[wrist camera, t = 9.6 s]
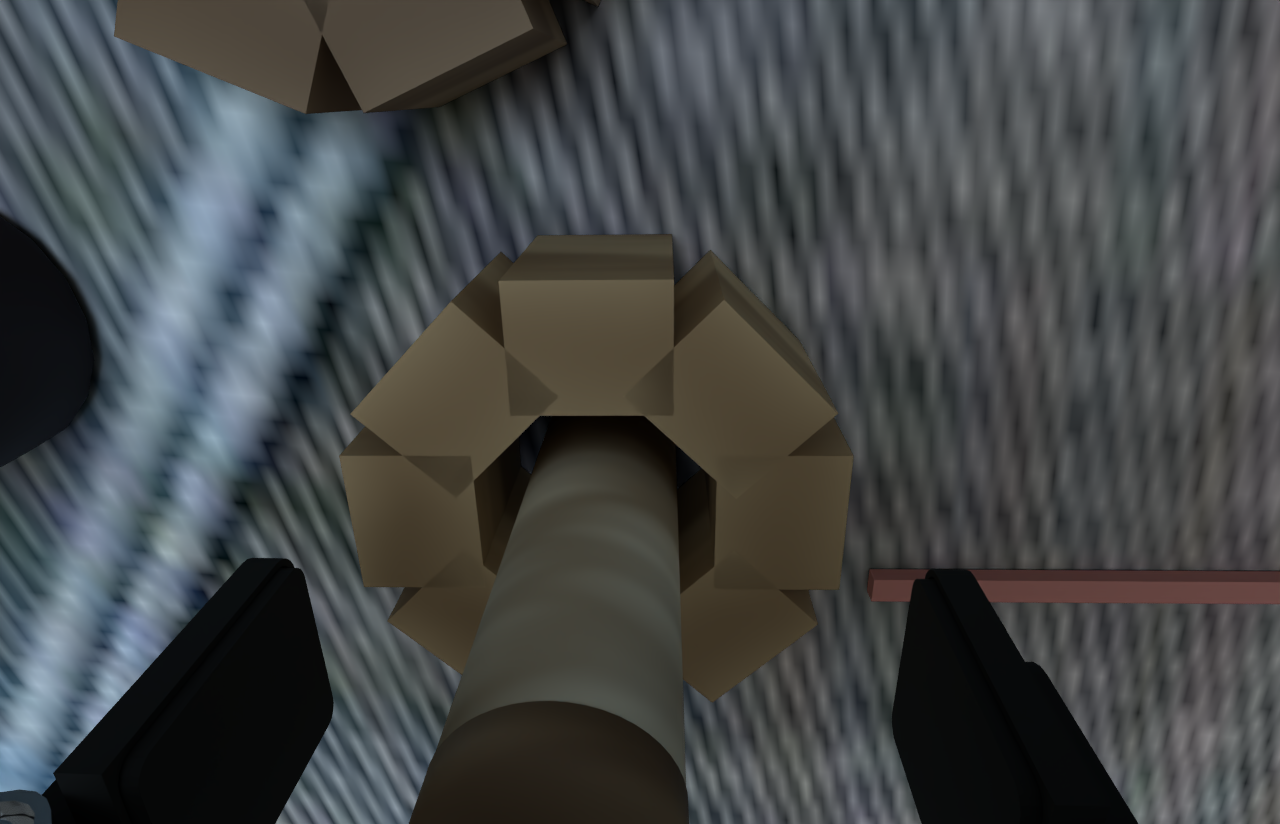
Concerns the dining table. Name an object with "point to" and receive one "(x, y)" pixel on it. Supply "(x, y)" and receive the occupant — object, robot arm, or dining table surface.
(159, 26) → the bead
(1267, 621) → the dining table surface
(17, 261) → the bottle
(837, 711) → the dining table surface
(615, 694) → the dowel
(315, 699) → the robot arm
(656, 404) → the bead
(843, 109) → the dining table surface
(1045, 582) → the reddish brown square stick
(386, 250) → the dining table surface
